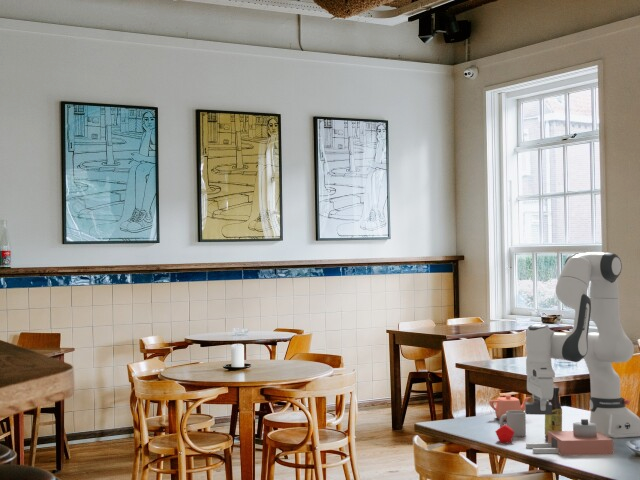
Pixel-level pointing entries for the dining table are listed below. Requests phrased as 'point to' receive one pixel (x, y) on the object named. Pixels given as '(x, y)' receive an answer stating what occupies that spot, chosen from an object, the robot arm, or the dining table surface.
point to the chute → (537, 408)
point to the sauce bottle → (554, 414)
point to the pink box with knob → (575, 441)
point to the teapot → (507, 405)
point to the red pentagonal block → (505, 434)
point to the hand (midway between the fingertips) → (539, 408)
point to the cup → (515, 422)
